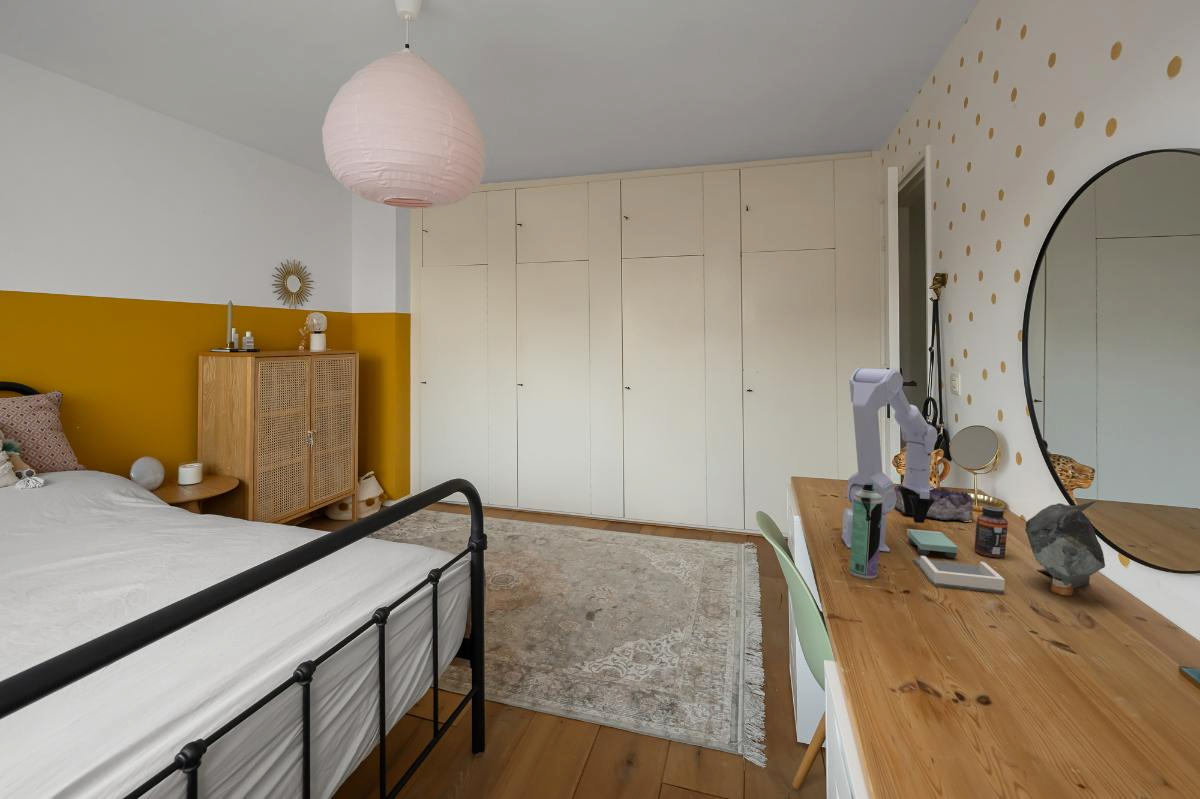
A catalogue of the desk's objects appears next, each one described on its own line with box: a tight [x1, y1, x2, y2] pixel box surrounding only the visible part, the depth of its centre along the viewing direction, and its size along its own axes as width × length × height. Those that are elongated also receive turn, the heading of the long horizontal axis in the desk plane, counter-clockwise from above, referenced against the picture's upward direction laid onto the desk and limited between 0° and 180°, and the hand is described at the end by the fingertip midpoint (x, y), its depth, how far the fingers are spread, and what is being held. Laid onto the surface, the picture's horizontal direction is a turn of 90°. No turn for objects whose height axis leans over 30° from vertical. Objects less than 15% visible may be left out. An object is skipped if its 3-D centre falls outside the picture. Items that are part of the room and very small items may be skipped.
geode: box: [893, 485, 975, 522], centre depth 155 cm, size 20×12×10 cm, turn 64°
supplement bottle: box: [973, 505, 1009, 559], centre depth 125 cm, size 6×6×11 cm
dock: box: [911, 555, 1006, 595], centre depth 113 cm, size 12×14×3 cm
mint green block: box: [906, 528, 959, 559], centre depth 128 cm, size 8×11×3 cm
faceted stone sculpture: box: [1024, 500, 1106, 597], centre depth 107 cm, size 14×15×18 cm
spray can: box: [849, 483, 882, 580], centre depth 113 cm, size 6×6×20 cm
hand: (914, 517), depth 140 cm, fingers open, 7 cm apart
